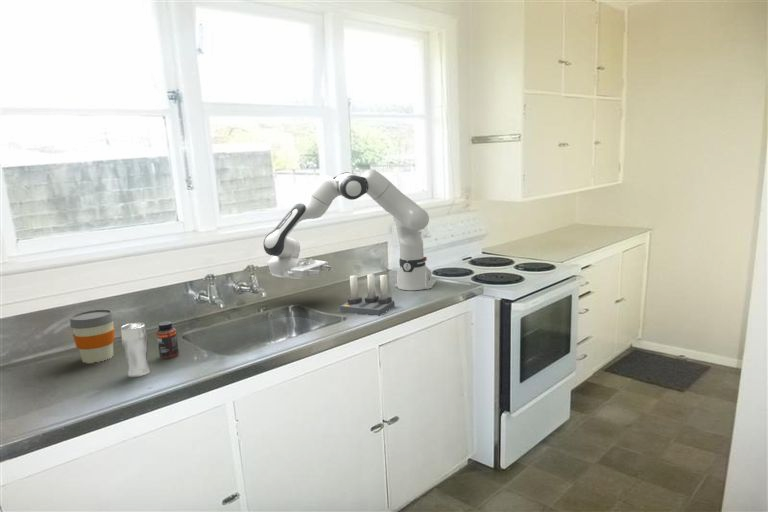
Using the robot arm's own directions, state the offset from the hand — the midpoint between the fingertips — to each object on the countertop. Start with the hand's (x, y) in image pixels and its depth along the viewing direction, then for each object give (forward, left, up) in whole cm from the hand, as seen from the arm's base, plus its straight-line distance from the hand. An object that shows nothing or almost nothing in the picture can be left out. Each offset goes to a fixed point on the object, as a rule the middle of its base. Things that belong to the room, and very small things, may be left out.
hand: (325, 270), depth 221 cm
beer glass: (+83, -15, -15) cm, 86 cm away
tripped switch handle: (0, +13, -13) cm, 18 cm away
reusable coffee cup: (+79, -40, -15) cm, 90 cm away
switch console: (0, +19, -15) cm, 25 cm away
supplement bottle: (+69, -18, -15) cm, 73 cm away
